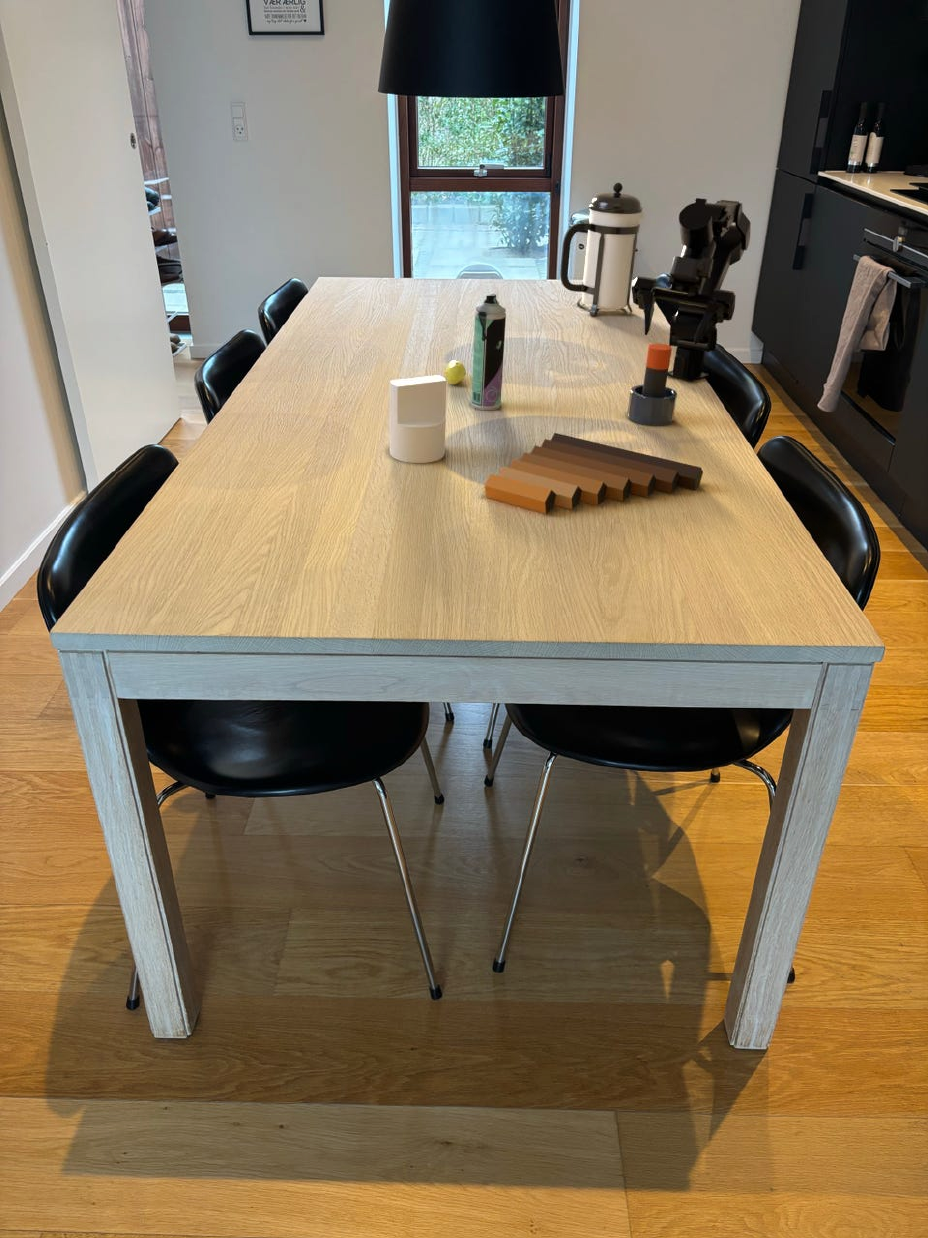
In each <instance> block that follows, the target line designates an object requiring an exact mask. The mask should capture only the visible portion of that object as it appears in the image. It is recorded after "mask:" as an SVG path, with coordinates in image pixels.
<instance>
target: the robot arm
mask: <svg viewBox="0 0 928 1238" xmlns="http://www.w3.org/2000/svg"><path fill="white" fill-rule="evenodd" d="M678 223H679V232H680V242H681V244H682V245H683V247H682V251H681V253H680V256H677V255H676V256H674V257H673V260H672V264H671V267H670V272H669V279H668V285H670V288H666V287H660V286H658V285H657V278H652V277H647V276H639V275H638V276H637V277H636V278H635V279H634V280H633V281H632V284H631V295H632V303H633V305H636V306H637V307H638V309H640V310H642V311H643V315H644V316H643V317H644V321H643V323H644V336H648V334H649V332H650V328H651V324H652V320H653V316H654V312H655V304H656V302H657V299H658V300H665V301H669V302H676V303H679V304H680V305H679V307H678V309H677V312H676V314H674V315H673V316H672V318H671V321H670V324H669V325H670V326H669V339H668V345H669V346H671V347H675V348H676V349H675V355H674V359H673V360H674V361H673V366H672V370H670V371H668V376H667V377H670V378H675V379H678V380H681V381H684V382H688V383H694V382H697V381H700V380H703V379H706V378H708V377H709V373H705V372H703V368H704V362H705V357H706V352H707V353H710V352H714V351H716V349H717V343H718V329H717V324H723V323H724V321H727V322H729V321H732V319H733V316H734V313H735V309H736V308H735V307H736V294H735V292H734V291H732V290H725V289H722V285H723V284H724V281H725V278H726V276H727V273H728V271H729V268H730V266H732V265H734V264H736V263H738V262H739V261H741V259H742V257H743V255H744V253H745V251H747V250H748V248H749V246H750V241H751V227H752V226H751V223H752V222H751V221H750V220H749V218H748V217H747V216H746V214H745V213H744V212H743V203H742V202H740V201H736V200H727V199H720V200H717V201H716V202H715V203H710V202H708V199H707V198H700V197H696V198H695V199H694V202H692V203H689V204H688V205H686V206H685V207H684V208H683V209H681V210H680V212H679V213H678Z"/></svg>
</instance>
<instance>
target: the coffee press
mask: <svg viewBox="0 0 928 1238" xmlns="http://www.w3.org/2000/svg"><path fill="white" fill-rule="evenodd" d="M612 189H613V192H607V193H606V192H604V193H600V194H597V195H596V196H594V197H593V198H592V200H591V202H590V203H589V204H588V209H589V219H588V220H587V222H577V223H574V224H572V225H571V226H570V227H569V228H568V229H567V231H566V232H565V234H564V236H563V241H562V248H561V259H560V269H559V271H560V272H559V278H560V282H561V284H562V286H563V288H564V289H566V290H568V291H570V292H575V293H576V292H577V293H581V297H580V299H579V300H578V301H577V302H576V307H578V308H582V307H584V306H587V307H588V308H590V311H589V316H591V317H596V316H597V315H598V313H599V311H601V310H604V311H614V310H615V311H617V310H621V311H622V312H623V313H624V314H625V316H628V317H629V316H631V315H632V314H633V308H632V306H631V303H630V298H631V293H632V285H633V275H634V266H635V259H636V251H637V243H638V233H640V225H641V224H640V220H644V219H645V217H646V216H645V214H644V211H643V207H642V204H641V201H640V200H639V199H638V198H637V197H636V196H634V195H631V194H627V193H621V192H622V190H623V189H624V187H623V185H622V183H621V182H615V183H614V184H613V186H612ZM583 231H587V240H586V249H585V261H584V271H583V281H582V283H581V284H580V283H579V284H578V283H577V284H576V283H575V284H574V283H572V282H571V281H570V280H569V265H570V256H571V255H570V254H571V245H572V240H573V238H574V236H575V234H577V233H578V232H583ZM581 302H582V305H581ZM626 307H627V308H628V310H629V313H628V311H627V310H626Z"/></svg>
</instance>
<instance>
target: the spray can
mask: <svg viewBox="0 0 928 1238" xmlns="http://www.w3.org/2000/svg"><path fill="white" fill-rule="evenodd" d="M506 311H507V309H506V308H505V307H503V306H502V305H501V304H500V302H499V301H498V300H497V294H494V293H492V294H489V295H486V298H485V299H484V301H483V302H482V303H481V304H480V305H479V306H476V308H475V312H474V332H473V351H472V352H473V353H472V354H473V355H472V376H471V377H472V378H471V399H470V406H471V407H472V408H474V409H477V410H480V411H481V410H482V411H494V410H498V409H500V408H501V403H502V390H503V389H502V388H503V371H504V355H505V337H506V321H507V313H506Z"/></svg>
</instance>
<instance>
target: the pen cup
mask: <svg viewBox="0 0 928 1238" xmlns="http://www.w3.org/2000/svg"><path fill="white" fill-rule="evenodd" d="M629 391H630V392H629V398H628V406H627V419H628V420H630V421H631V422H633V423H636V424H640V425H644V426H650V427H651V426H652V427H661V426H667V425H670V424H671V423H672V422H673V420H674V417H675V410H676V404H677V398H678V393H677V391H676V390H675V389H673V388H671V387H668V386H666V389H665V395H664V398H653V397H647V396H643V395H642V391H643V384H637V385H634V386H632V387H631V388H630V390H629Z"/></svg>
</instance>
